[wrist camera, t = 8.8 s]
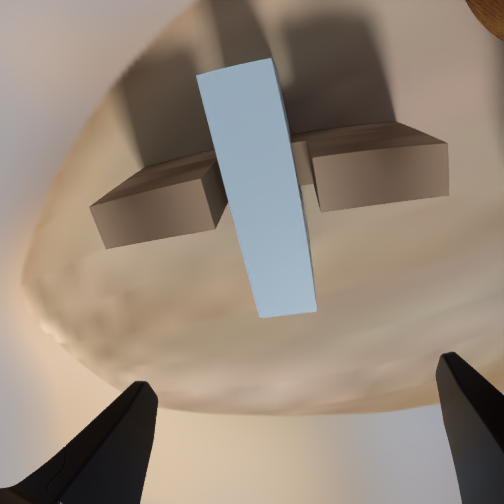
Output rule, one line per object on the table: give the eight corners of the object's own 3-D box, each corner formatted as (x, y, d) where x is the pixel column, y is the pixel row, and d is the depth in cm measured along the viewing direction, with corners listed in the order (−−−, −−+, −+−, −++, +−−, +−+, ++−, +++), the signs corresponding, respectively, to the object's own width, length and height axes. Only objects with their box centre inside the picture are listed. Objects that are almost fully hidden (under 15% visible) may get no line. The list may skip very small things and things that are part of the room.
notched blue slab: (276, 68, 14) (271, 57, 9) (310, 244, 19) (317, 311, 13) (227, 78, 14) (196, 75, 9) (267, 250, 19) (259, 318, 14)
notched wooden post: (396, 121, 15) (447, 143, 9) (400, 157, 15) (448, 195, 10) (144, 167, 17) (89, 207, 12) (154, 199, 18) (106, 249, 13)
